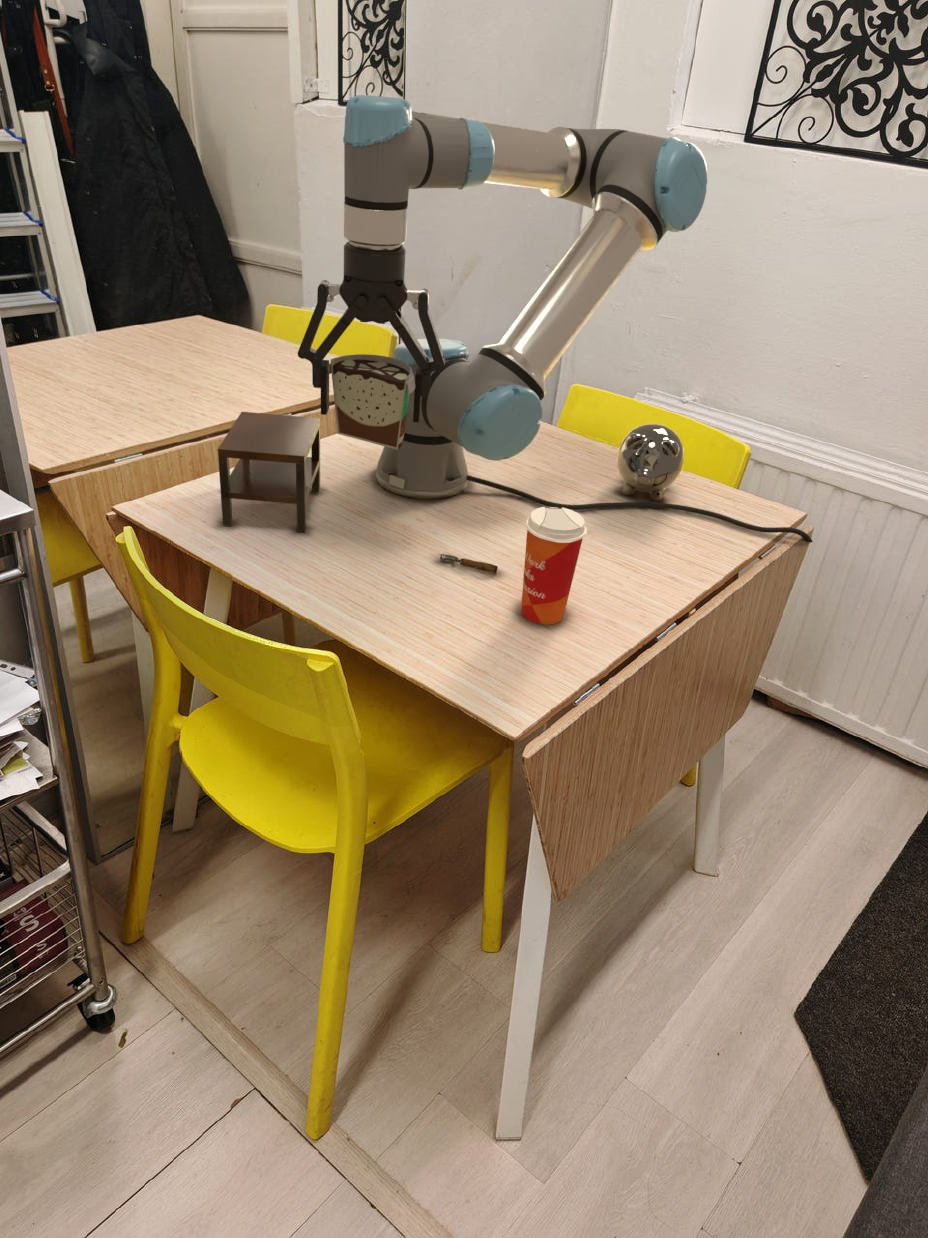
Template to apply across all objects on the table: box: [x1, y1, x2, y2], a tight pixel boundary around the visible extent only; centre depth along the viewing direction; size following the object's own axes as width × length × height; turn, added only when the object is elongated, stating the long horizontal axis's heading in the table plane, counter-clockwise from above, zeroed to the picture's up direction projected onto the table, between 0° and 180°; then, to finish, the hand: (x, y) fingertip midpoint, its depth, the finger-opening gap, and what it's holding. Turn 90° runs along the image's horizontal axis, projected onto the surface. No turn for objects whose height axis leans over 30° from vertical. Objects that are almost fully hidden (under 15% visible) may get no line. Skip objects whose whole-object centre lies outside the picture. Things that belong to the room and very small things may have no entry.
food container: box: [328, 353, 415, 450], centre depth 120 cm, size 12×6×10 cm, turn 64°
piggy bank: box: [616, 423, 686, 502], centre depth 151 cm, size 11×15×12 cm
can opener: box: [437, 553, 499, 574], centre depth 127 cm, size 9×2×1 cm, turn 65°
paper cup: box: [521, 506, 588, 626], centre depth 115 cm, size 8×8×14 cm
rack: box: [217, 411, 321, 534], centre depth 134 cm, size 12×15×12 cm
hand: (370, 414), depth 121 cm, fingers closed on food container, 12 cm apart
